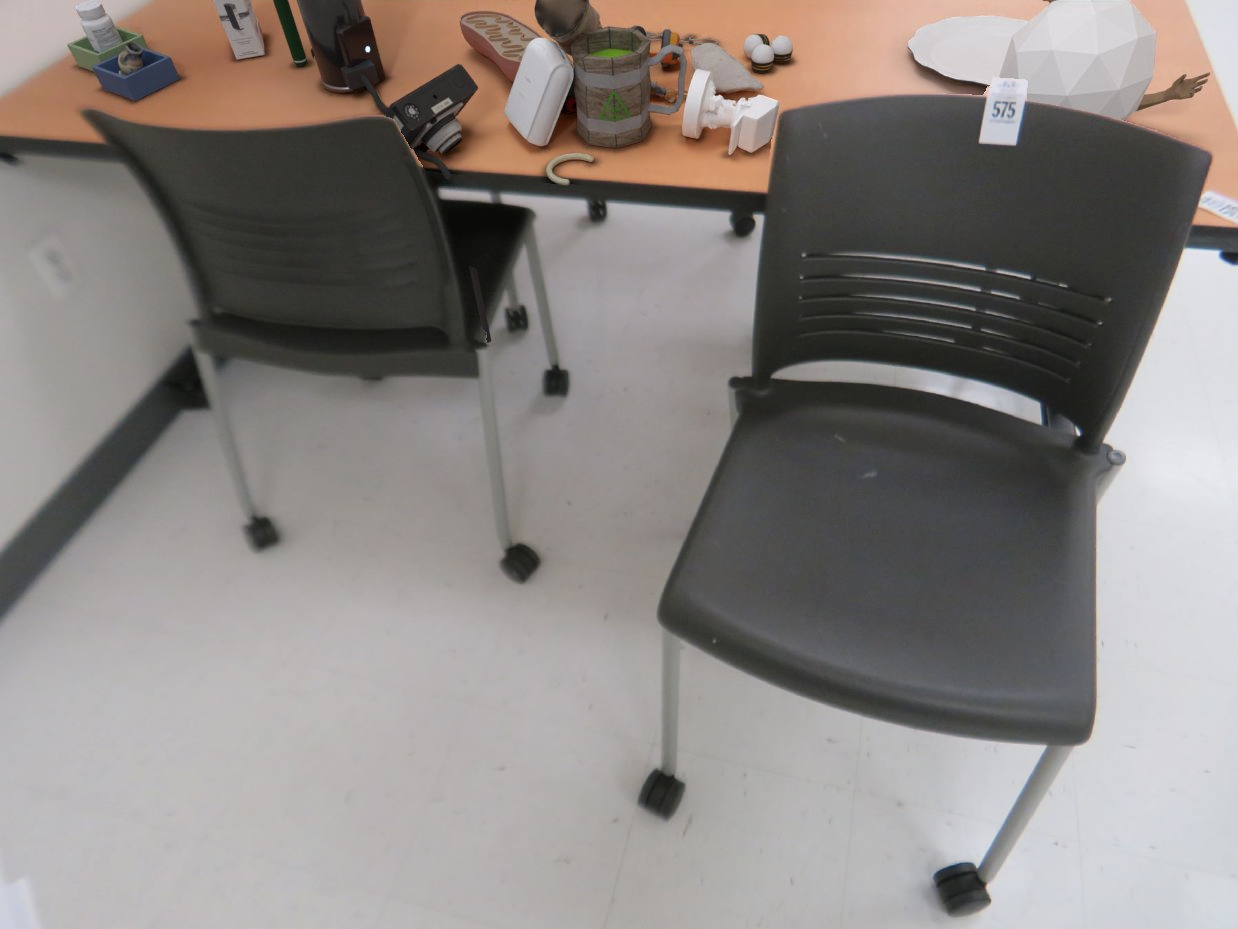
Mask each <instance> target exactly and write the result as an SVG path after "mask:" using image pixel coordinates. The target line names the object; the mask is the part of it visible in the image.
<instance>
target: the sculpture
mask: <svg viewBox="0 0 1238 929" xmlns="http://www.w3.org/2000/svg"><path fill="white" fill-rule="evenodd" d="M534 16H535V20H536V22H537V24H538V25H539V27H540V28H541V29H542V30H544V32H545V34H547V35H548V36H549V38H550V39H552V40H553V41H554V42H556V43H557V44H559V45H560V46H561V47H562V48H563V50H564V51H565V52H566V54H567V55H568V56H570V57H572V53H571V48H570V46H571V44H572V43H573V42H574V41H575V40H576V39H577V37H578V36H579V35H580V34H581V33H583V32H587V31H591V30H595V29H600V28H603V24H602V22H601V19H600V18H601V16H600V13H599V12H598V10H596V8H594V7H593V6H592V5H591V3H590V0H535V5H534Z"/></svg>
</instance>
